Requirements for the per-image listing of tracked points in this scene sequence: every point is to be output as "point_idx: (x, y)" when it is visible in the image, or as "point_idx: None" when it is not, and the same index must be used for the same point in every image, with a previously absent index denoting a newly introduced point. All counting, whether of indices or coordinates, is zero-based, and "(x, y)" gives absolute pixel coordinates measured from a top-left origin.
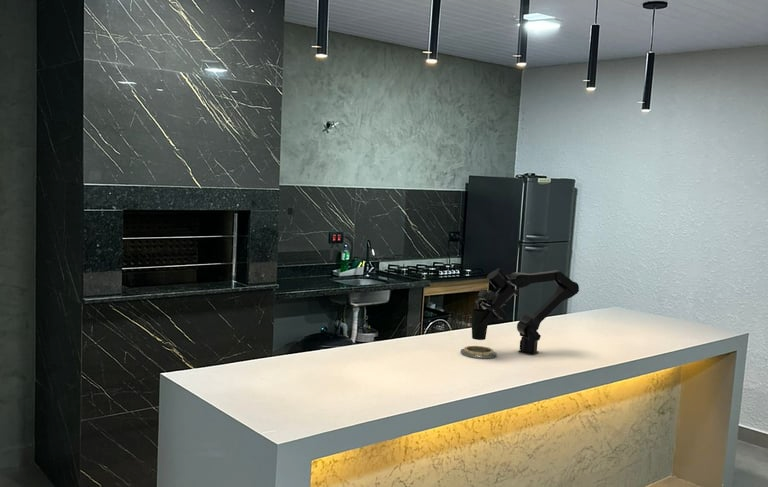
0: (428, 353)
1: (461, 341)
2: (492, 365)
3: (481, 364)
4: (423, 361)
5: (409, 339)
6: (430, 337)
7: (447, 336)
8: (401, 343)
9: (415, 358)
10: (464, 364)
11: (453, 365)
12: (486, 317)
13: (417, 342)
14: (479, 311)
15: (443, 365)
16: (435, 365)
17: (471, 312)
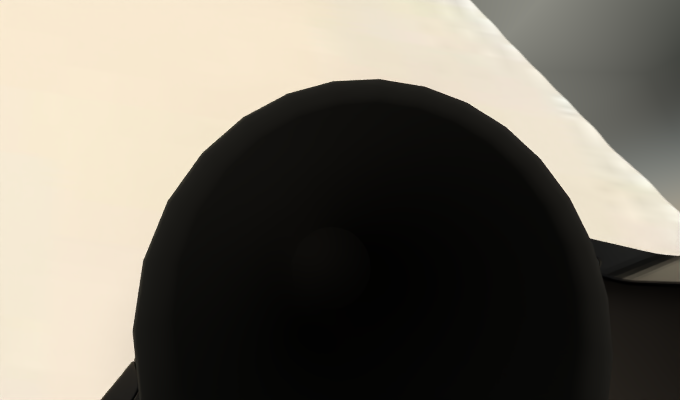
0: (291, 62)
1: None
2: (97, 309)
3: (118, 252)
4: (165, 25)
5: (480, 36)
6: (537, 109)
7: (580, 174)
8: (415, 3)
9: (209, 8)
10: (118, 171)
11: (101, 122)
12: (118, 379)
13: (446, 53)
14: (524, 283)
15: (102, 84)
16: (102, 55)
17: (358, 111)
